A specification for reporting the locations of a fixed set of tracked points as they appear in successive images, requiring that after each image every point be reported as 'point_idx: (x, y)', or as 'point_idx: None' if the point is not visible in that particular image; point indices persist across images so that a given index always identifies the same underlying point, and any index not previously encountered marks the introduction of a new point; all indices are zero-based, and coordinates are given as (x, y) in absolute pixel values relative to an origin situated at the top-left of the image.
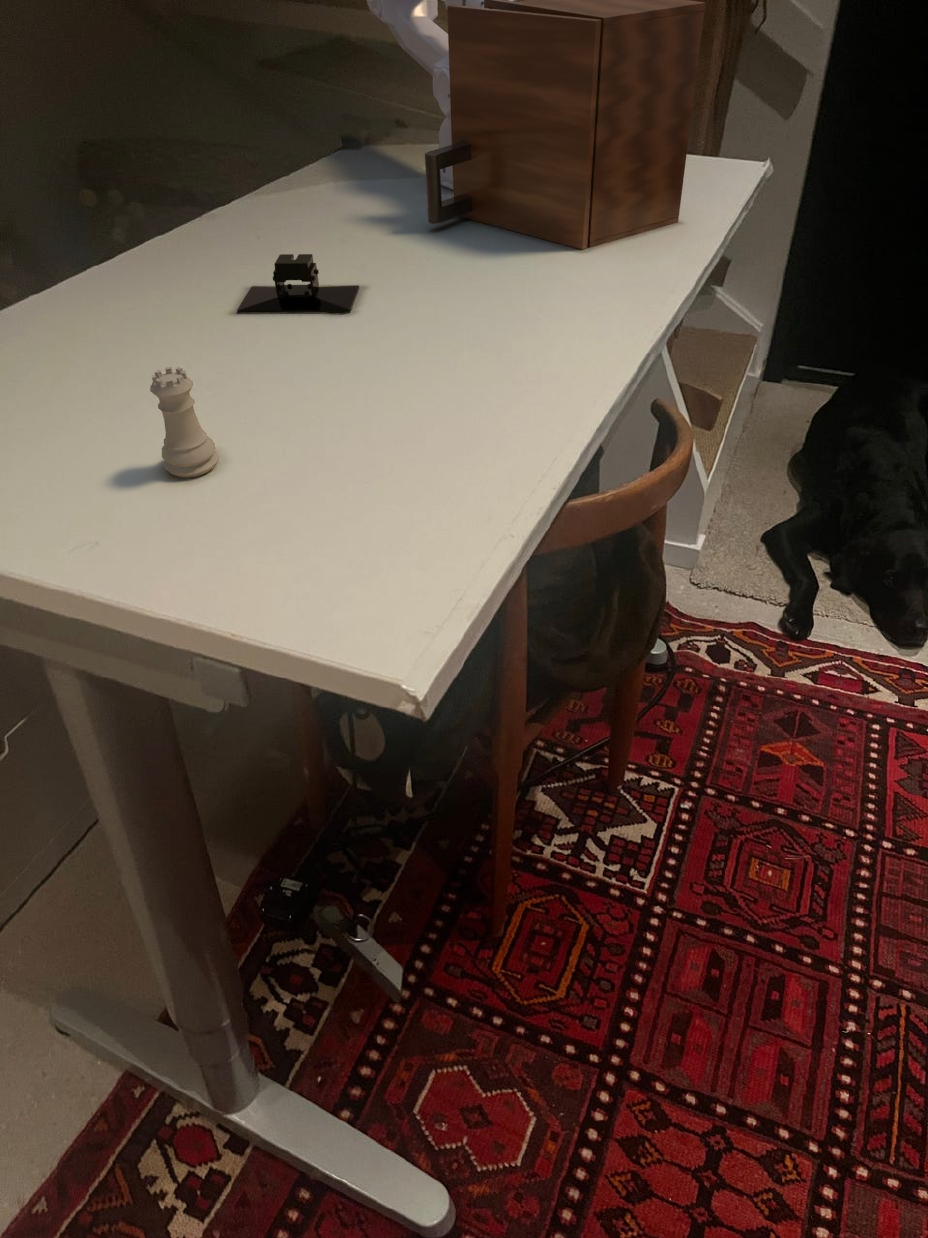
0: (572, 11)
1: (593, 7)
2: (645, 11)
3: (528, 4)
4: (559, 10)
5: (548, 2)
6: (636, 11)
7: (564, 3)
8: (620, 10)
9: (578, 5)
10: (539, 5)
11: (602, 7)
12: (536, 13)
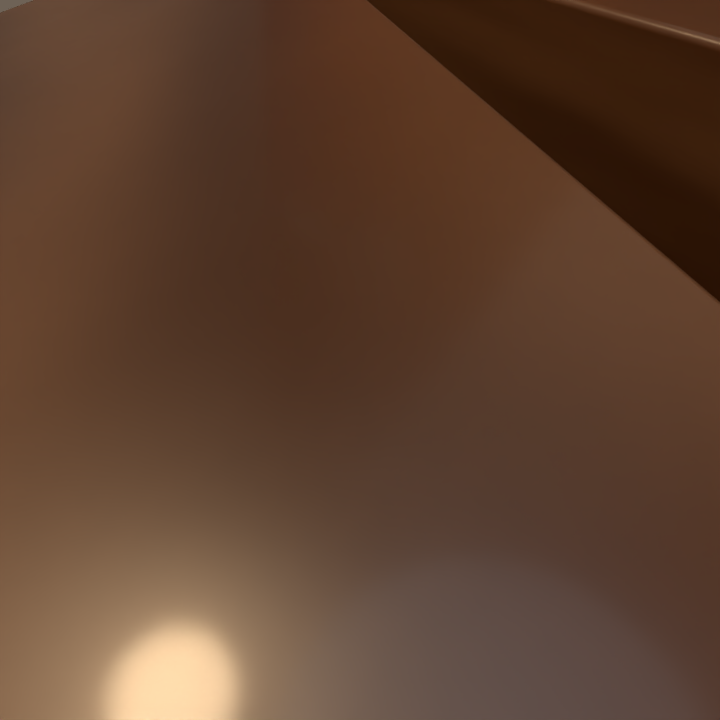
0: (322, 2)
1: (101, 103)
2: (5, 12)
3: (692, 394)
4: (393, 24)
5: (274, 506)
6: (36, 9)
7: (140, 331)
8: (66, 27)
9: (118, 189)
10: (506, 268)
11: (56, 98)
12: (601, 3)
